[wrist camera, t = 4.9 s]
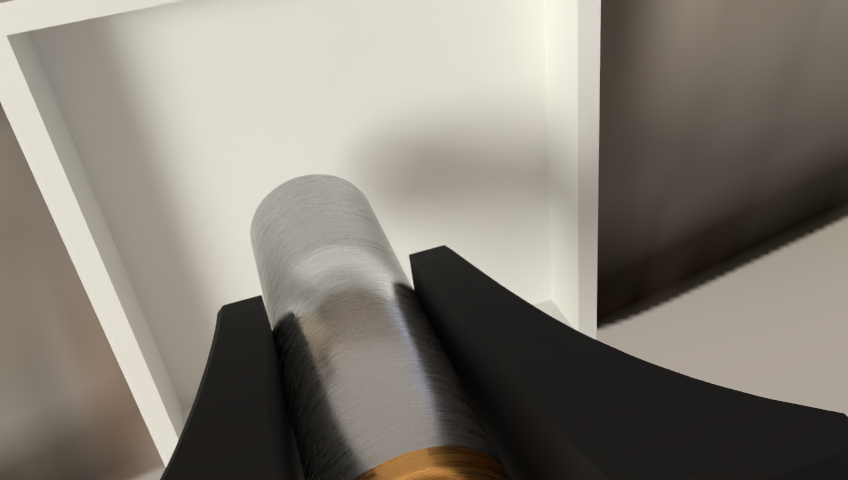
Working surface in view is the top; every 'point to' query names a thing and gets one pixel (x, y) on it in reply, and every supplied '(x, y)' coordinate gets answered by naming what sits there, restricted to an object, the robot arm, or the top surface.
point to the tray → (300, 149)
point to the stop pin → (359, 345)
